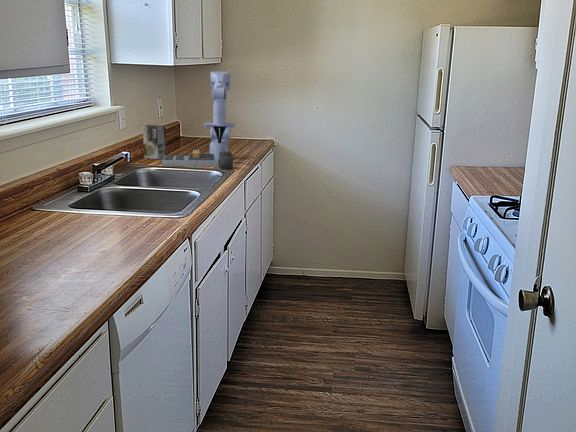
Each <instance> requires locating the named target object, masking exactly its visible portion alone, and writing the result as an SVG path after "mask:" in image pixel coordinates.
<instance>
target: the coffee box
mask: <svg viewBox="0 0 576 432" xmlns="http://www.w3.org/2000/svg"><path fill="white" fill-rule="evenodd" d="M165 128H166V126H165V125H160V124H159V125H158V124H146V125H143V126H142V137H143V139H142V140H143V157H144V159H153V160H160V159H161V160H162V159H163V157H164V156H167V154H166V132H165V131H166V129H165Z"/></svg>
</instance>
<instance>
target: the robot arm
mask: <svg viewBox="0 0 576 432" xmlns="http://www.w3.org/2000/svg"><path fill="white" fill-rule="evenodd" d="M210 85H211V86H210V87H211V95H212V96H211V98H212V104H213V105H212V107H213V108H212V109H213V110H212V111H213V113H212V114H213V116H212V117H213V118H212V119H213V122H204V123H203V127H204V128H210V129H209V130H210V132H209V133H210V134H209V137H210V140H211V142H210V143H209V154H214V156H218V159H219V152H229V149H228V148H229V147H228V144H229V143H228V142H229V141H230V140H231V128H234V129H235V128H236V123H235V122H234V123H233V122H226V113H227V112H226V109H227V108H226V107H227V105H226V103H227V102H226V101H227V92H228V91H229V90H230V88H231V72H230V71H214V70H212V71H211V72H210Z"/></svg>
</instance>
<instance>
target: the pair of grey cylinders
mask: <svg viewBox="0 0 576 432" xmlns="http://www.w3.org/2000/svg"><path fill="white" fill-rule="evenodd" d="M232 153H233V152H232V151H228V152H219V169H220V170H233V169H234V157H233V154H232Z"/></svg>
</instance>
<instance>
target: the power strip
mask: <svg viewBox="0 0 576 432" xmlns="http://www.w3.org/2000/svg"><path fill="white" fill-rule="evenodd" d="M193 152H199V158H193ZM161 166H169V167H171V166H187V168H189V167H190V168H191V167H194V168H195V167H197V168H198V167H199V168H200V167H205V168H206V167H207V168H208V167H213V168H214V167H215V168H217V167H219V168H220V163H219V159H218V156H214V154H210V153H200V149H193V150H192V153H188V155H166V156H164V157H163V158H162V159H161Z"/></svg>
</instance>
